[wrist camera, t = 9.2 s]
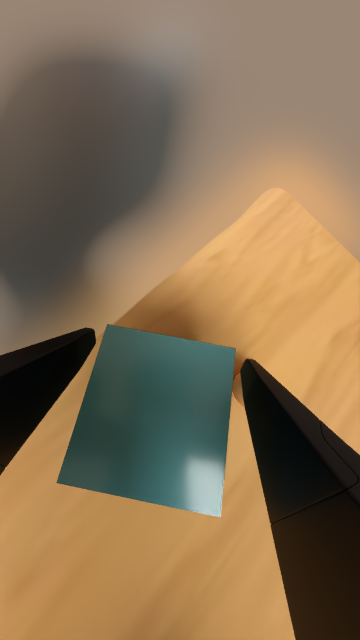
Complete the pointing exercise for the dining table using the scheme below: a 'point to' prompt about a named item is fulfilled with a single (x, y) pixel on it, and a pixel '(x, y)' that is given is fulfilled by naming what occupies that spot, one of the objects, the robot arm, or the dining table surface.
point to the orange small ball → (238, 389)
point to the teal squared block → (154, 421)
